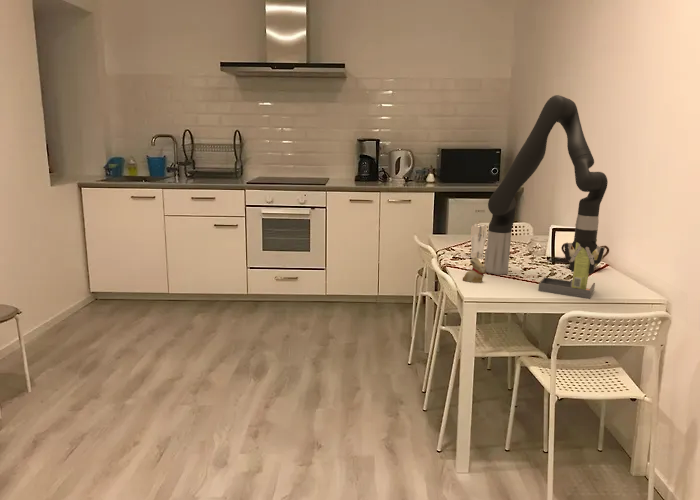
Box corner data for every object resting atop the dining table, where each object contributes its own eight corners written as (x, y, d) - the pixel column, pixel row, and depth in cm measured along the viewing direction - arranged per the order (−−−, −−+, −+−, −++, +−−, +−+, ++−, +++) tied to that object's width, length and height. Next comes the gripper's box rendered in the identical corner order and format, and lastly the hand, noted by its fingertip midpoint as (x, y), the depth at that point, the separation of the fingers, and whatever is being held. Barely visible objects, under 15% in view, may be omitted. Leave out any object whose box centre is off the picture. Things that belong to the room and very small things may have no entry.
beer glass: (469, 258, 272) (471, 226, 268) (468, 255, 278) (471, 223, 275) (484, 259, 270) (487, 226, 267) (484, 256, 277) (486, 224, 274)
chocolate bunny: (478, 284, 230) (480, 259, 227) (461, 280, 235) (462, 255, 233) (486, 282, 234) (488, 257, 231) (468, 277, 239) (470, 253, 237)
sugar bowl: (601, 265, 265) (605, 232, 262) (612, 274, 251) (616, 238, 248) (555, 263, 268) (559, 230, 264) (563, 271, 253) (567, 236, 250)
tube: (579, 286, 225) (586, 235, 220) (590, 290, 220) (597, 238, 216) (568, 288, 222) (574, 236, 218) (578, 292, 218) (585, 239, 214)
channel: (538, 290, 223) (539, 282, 223) (544, 283, 234) (545, 276, 233) (589, 298, 215) (590, 290, 214) (594, 290, 225) (595, 283, 224)
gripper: (609, 228, 216) (603, 273, 220) (567, 223, 223) (562, 267, 227) (606, 231, 210) (600, 278, 213) (563, 226, 216) (558, 271, 220)
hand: (581, 272), depth 220 cm, fingers closed on tube, 5 cm apart
